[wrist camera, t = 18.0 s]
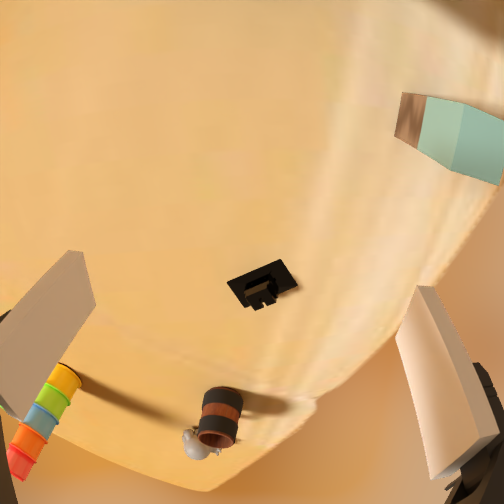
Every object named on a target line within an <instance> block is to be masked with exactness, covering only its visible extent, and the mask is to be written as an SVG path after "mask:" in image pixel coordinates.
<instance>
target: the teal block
mask: <svg viewBox="0 0 504 504" xmlns="http://www.w3.org/2000/svg"><path fill="white" fill-rule="evenodd" d="M417 150H419V151H420V152H422V153H424V154H425V155H427V156H429V157H430V158H432V159H433V160H435V161H437V162H438V163H440V164H441V165H443V166H444V167H446V168H447V169H449V170H451V171H454V172H457V173H461V174H464V175H467V176H470V177H473V178H476V179H479V180H483V181H485V182H488V183H491V184H494V185H497V186H499V183H500V179H501V176H502V172H503V168H504V121H503V120H501V119H499V118H497V117H494V116H492V115H490V114H488V113H486V112H483V111H481V110H479V109H476V108H474V107H471V106H469V105H467V104H464V103H459V102H454V101H450V100H444V99H439V98H434V97H428V96H427V101H426V106H425V112H424V117H423V123H422V128H421V133H420V138H419V142H418V147H417Z"/></svg>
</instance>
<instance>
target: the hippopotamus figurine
mask: <svg viewBox="0 0 504 504" xmlns="http://www.w3.org/2000/svg"><path fill="white" fill-rule="evenodd" d="M183 433H184V435H183V436H182V440H183V442H184V451H185V453H186V454H187V456H188V457H190V458H191V459H194V460H202V459H205V458H206V457H207V456H208V455H209V454H210V452H213V453H216V455H217V456H218V455H219V454H218V453H219V452H221V449H222V448H213V447H209V446H207V445H204V444H203V443H201V442H200V441H199V440H198V437H197V433H198V429H196V430H195V434H194V433H193V431H192V430H191V429H188V430H185V431H184V432H183Z"/></svg>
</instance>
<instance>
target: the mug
mask: <svg viewBox="0 0 504 504" xmlns="http://www.w3.org/2000/svg"><path fill="white" fill-rule="evenodd" d="M242 406H243V399H242V398H241V396H240V394H239V393H238V392H236V391H235V390H232V389H230V388H226V387H214V388H211V389H210V390H208V391H207V392H206V393H205V395H204V399H203V404H202V416H201V419H200V422H199V428H198V433H197V437H198V440H199V441H200V442H201V443H203V444H204V445H207V446H209V447H213V448H229V447H231V446H232V445H233V444H234V443H235V438H236V434H237V430H238V420H239V418H240V415H241V411H242Z"/></svg>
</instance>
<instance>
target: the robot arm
mask: <svg viewBox="0 0 504 504" xmlns="http://www.w3.org/2000/svg"><path fill="white" fill-rule="evenodd" d="M95 306H96V303H95V299H94V295H93V292H92V288H91V284H90V280H89V276H88V272H87V268H86V264H85V260H84V255H83V252H79V251H71V250H68V251H67V252H66V253H65V254H64V255H63V256H62V257H61V258H60V259H59V260H58V261H57V262H56V263H55V264H54V265H53V266H52V267H51V268H50V269H49V270H48V271H47V272H46V273H45V274H44V275H43V276H42V277H41V279H40V280H39V281H38V282H37V283H36V284H35V285H34V286H33V287H32V288H31V289H30V290H29V291H28V292H27V293H26V295H25V296H24V297H23V298H22V299H21V300H20V301H19V302H18V303H17V305H16V306H15V307H14V308H13V309H12V310H9V311H8V312H6V313H5V314H3V315H2V316H0V405H1V406H2V408H3V409H4V410H5V411H6V413H8V415H10V416H12V417H14V418H15V419H17V420H19V421H21V422H23V421H24V419H25V417H26V416H27V414H28V412H29V410H30V408H31V407H32V405H33V403H34V401H35V400H36V398H37V396H38V395H39V393H40V391H41V389H42V388H43V386H44V384H45V383H46V381H47V379H48V378H49V376H50V375H51V373H52V371H53V370H54V368H55V366H56V365H57V363H58V362H59V360H60V359H61V357H62V355H63V354H64V352H65V351H66V349H67V348H68V346H69V345H70V343H71V342H72V340H73V338H74V337H75V335H76V334H77V332H78V331H79V329H80V328H81V327H82V325H83V324H84V322H85V321H86V319H87V318H88V316H89V315H90V313H91V312H92V311H93V309H94V308H95ZM395 339H396V342H397V346H398V348H399V352H400V355H401V359H402V362H403V365H404V369H405V372H406V376H407V379H408V383H409V387H410V390H411V394H412V398H413V402H414V405H415V409H416V413H417V418H418V422H419V426H420V430H421V435H422V439H423V443H424V448H425V453H426V458H427V463H428V469H429V474H430V480H434V479H439V478H444V477H448V476H451V475H452V474H453V473H455V472H456V471H457V470H458V469H460V470H461V476H460V477H458V478H457V479H456V480H454V481H453V482H451V483H450V484H449V485H448V486H447V487H446V488H445V490H446V491H447V490H449V489H450V488H451V487H453V486H454V487H453V489H452V491H451V492H450V494H449V496H448V498H447V500H446V502H445V504H504V410H503V407H502V405H501V402H500V400H499V398H498V397H497V392H496V390H495V388H494V387H493V383H492V381H491V379H490V376H489V374H488V372H487V371H486V370H485V369H484V368H483V367H482V366H481V365H480V363H478V362H477V363H472V361H471V359H470V358H469V355H468V353H467V351H466V349H465V347H464V345H463V342H462V340H461V338H460V336H459V334H458V332H457V330H456V328H455V326H454V324H453V322H452V320H451V318H450V317H449V315H448V313H447V311H446V309H445V308H444V305H443V303H442V302H441V300H440V298H439V296H438V294H437V293H436V291H435V289H434V287H430V286H416V289H415V292H414V294H413V297H412V299H411V302H410V304H409V307H408V309H407V312H406V314H405V316H404V319H403V321H402V324H401V326H400V328H399V330H398V333H397V335H396V337H395ZM0 504H18V501H17V498H16V494H15V490H14V487H13V482H12V478H11V474H10V469H9V465H8V460H7V454H6V449H5V443H4V436H3V430H2V422H1V416H0Z"/></svg>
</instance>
